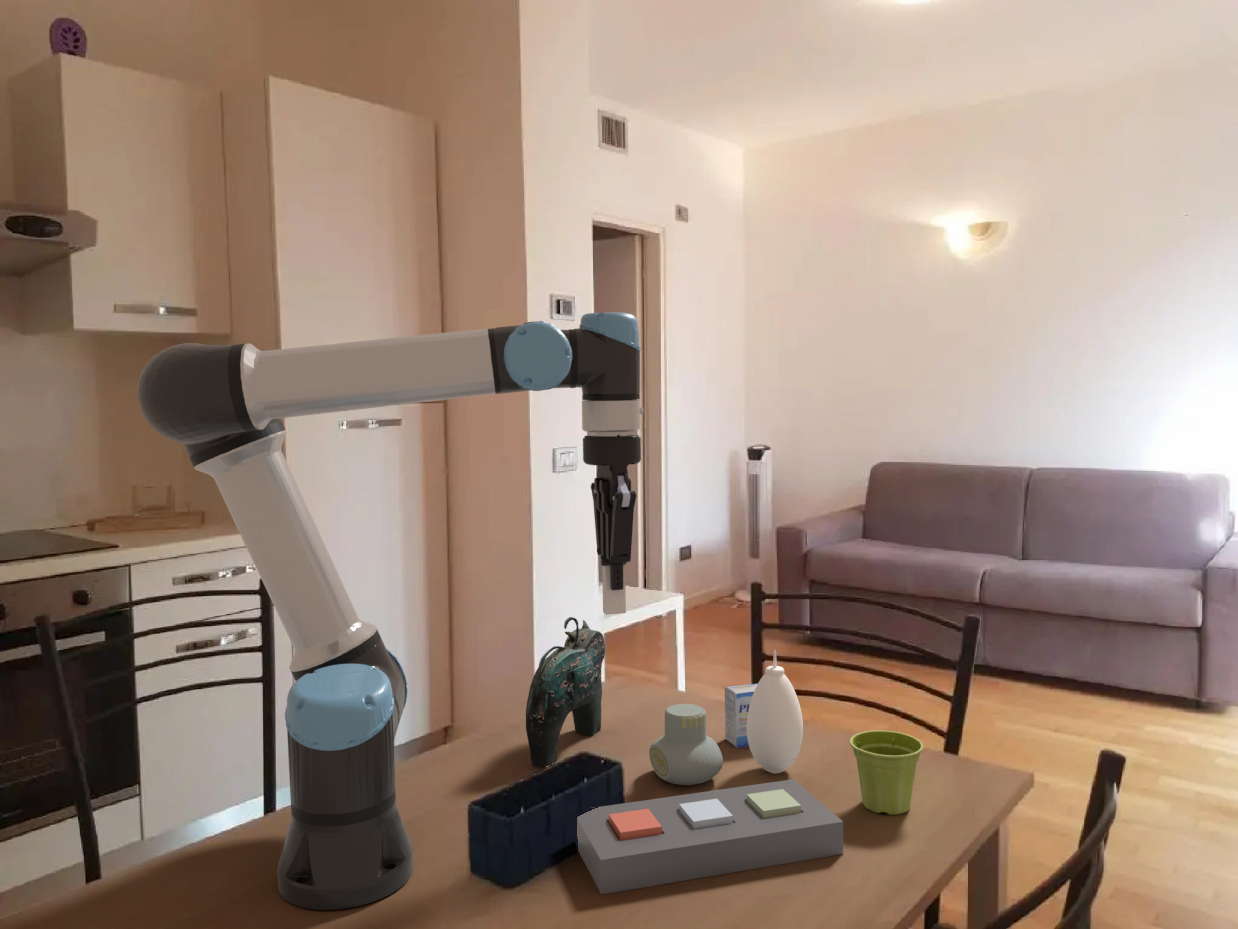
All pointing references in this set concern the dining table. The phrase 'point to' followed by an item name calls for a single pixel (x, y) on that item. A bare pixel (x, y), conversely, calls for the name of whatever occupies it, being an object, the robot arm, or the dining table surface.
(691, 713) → the air freshener
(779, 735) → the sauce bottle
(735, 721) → the medicine box
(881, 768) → the plant pot
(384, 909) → the dining table surface
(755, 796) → the green button
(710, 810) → the white button
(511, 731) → the dining table surface
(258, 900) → the dining table surface
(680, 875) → the button panel
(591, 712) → the dark green metal figure
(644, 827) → the red button
